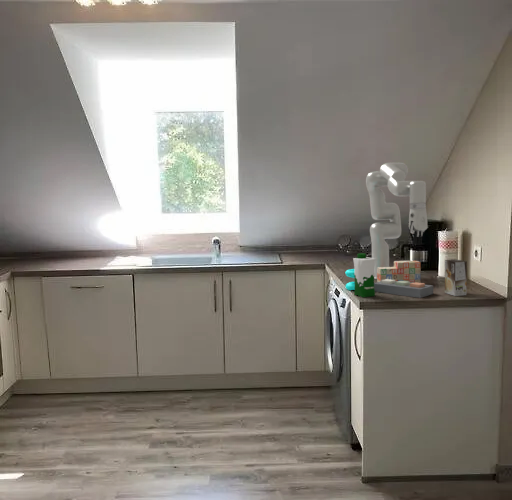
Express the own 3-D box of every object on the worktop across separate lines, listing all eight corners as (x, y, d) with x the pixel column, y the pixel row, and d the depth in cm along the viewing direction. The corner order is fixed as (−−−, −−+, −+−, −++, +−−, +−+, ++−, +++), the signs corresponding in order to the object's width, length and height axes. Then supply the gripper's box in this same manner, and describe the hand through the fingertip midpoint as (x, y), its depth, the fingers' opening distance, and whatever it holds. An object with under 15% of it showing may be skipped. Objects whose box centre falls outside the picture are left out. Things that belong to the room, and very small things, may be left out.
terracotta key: (409, 290, 253) (409, 283, 253) (415, 288, 257) (415, 282, 256) (419, 291, 250) (419, 284, 249) (424, 289, 253) (424, 283, 253)
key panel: (372, 291, 265) (372, 283, 264) (386, 287, 273) (386, 280, 272) (420, 297, 246) (420, 289, 245) (433, 293, 254) (433, 285, 254)
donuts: (347, 271, 265) (343, 268, 275) (347, 291, 266) (343, 288, 276) (367, 271, 265) (362, 268, 275) (367, 290, 266) (363, 287, 276)
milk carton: (366, 293, 261) (366, 252, 259) (378, 296, 253) (377, 254, 251) (351, 295, 257) (351, 254, 255) (362, 298, 249) (362, 255, 247)
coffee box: (467, 295, 248) (467, 261, 247) (455, 296, 247) (455, 262, 245) (455, 291, 257) (456, 258, 256) (443, 292, 256) (444, 259, 254)
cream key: (381, 286, 265) (381, 280, 265) (386, 284, 268) (386, 278, 268) (389, 287, 261) (389, 281, 261) (395, 285, 265) (395, 280, 264)
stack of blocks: (380, 286, 277) (380, 263, 276) (377, 284, 284) (376, 261, 282) (420, 285, 278) (420, 261, 277) (416, 282, 285) (416, 260, 283)
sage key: (395, 288, 259) (395, 282, 259) (400, 286, 263) (400, 280, 262) (404, 289, 256) (404, 283, 255) (409, 287, 259) (409, 281, 259)
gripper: (416, 207, 249) (416, 246, 251) (432, 206, 259) (432, 243, 261) (402, 207, 254) (402, 245, 256) (419, 206, 265) (418, 242, 267)
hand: (417, 244), depth 259 cm, fingers closed
